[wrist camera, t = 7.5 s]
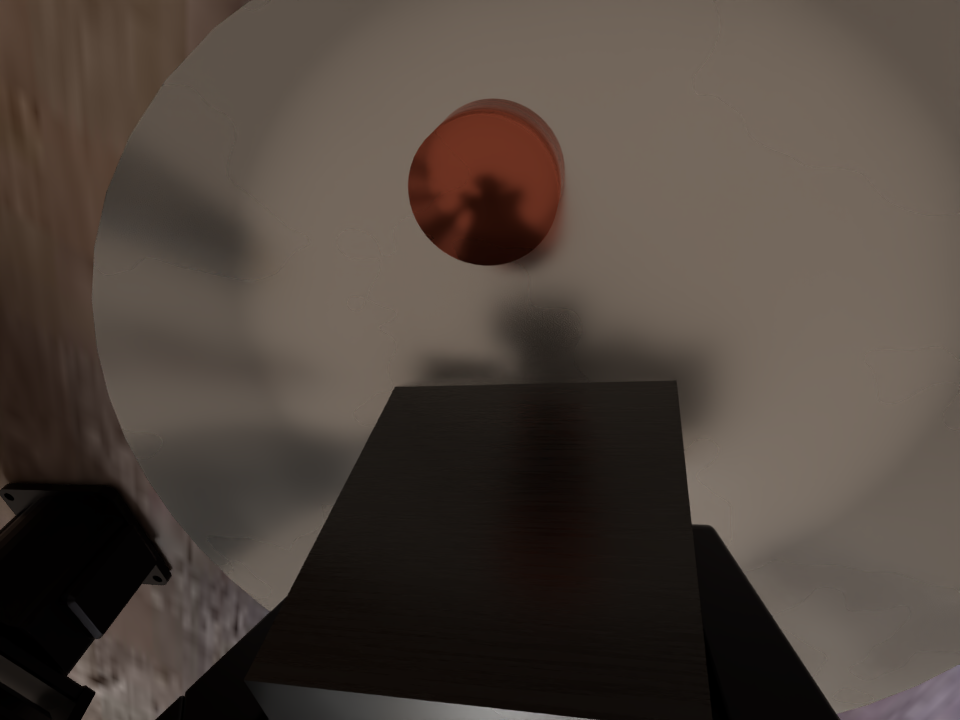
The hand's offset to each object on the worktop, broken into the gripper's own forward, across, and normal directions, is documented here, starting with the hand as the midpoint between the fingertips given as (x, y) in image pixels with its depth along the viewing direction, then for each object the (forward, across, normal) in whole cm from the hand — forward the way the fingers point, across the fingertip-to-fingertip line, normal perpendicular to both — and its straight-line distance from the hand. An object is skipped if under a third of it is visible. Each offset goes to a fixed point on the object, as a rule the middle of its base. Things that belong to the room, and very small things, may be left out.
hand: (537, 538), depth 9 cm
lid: (+2, 0, 0) cm, 2 cm away
